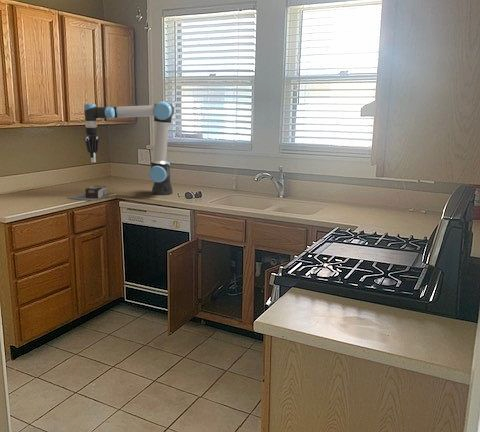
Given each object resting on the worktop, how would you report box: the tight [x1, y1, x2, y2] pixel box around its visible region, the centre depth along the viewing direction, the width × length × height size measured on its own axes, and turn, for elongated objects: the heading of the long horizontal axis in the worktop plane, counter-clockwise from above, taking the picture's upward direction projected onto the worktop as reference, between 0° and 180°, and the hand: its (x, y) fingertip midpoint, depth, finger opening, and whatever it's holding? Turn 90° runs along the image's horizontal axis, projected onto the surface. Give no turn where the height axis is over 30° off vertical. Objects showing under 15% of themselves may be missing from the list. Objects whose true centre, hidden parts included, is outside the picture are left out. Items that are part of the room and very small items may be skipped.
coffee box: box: [84, 184, 108, 198], centre depth 326 cm, size 9×6×16 cm
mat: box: [67, 192, 109, 202], centre depth 324 cm, size 20×18×1 cm
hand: (93, 162), depth 325 cm, fingers closed
